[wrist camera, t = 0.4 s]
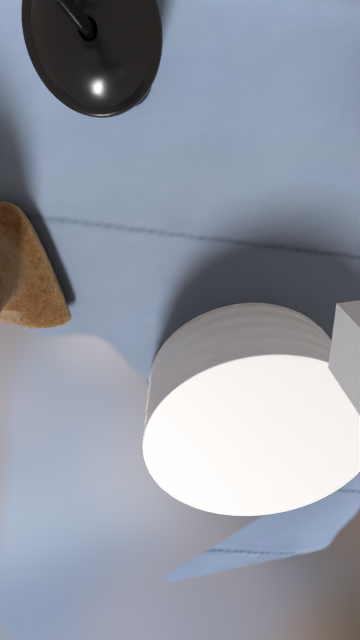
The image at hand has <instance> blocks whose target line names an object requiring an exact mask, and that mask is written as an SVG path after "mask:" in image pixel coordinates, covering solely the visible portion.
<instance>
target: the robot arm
mask: <svg viewBox="0 0 360 640" xmlns="http://www.w3.org/2000/svg"><path fill="white" fill-rule="evenodd" d="M328 368H329V370H330V371H331V373H332V374H333V376H334V377H335V379H336V380H337V382H338V384H339V385H340V387H341V388H342V390H343V391H344V393H345V394H346V396H347V397H348V399H349V400H350V402H351V403H352V405H353V406H354V408H355V409H356V411H357V412H358V414H359V415H360V300H359V301H350V302H342V303H336V311H335V319H334V326H333V334H332V342H331V349H330V357H329V365H328Z"/></svg>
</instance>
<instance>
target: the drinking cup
mask: <svg viewBox="0 0 360 640" xmlns="http://www.w3.org/2000/svg"><path fill="white" fill-rule="evenodd" d="M22 28H23V35H24V40H25V44H26V48H27V51H28V54H29V57H30V59H31V62H32V64H33V66H34V68H35V70H36V72H37V74H38V75H39V77H40V79H41V80H42V82H43V83H44V84H45V86H46V87H47V88H48V89H49V91H50V92H51V93H52V94H53V95H54V96H55V97H56V98H57V99H58V100H59V101H61V102H62V103H63V104H65V105H66V106H67V107H69V108H71V109H72V110H74V111H76V112H79V113H81V114H84V115H87V116H91V117H98V118H106V117H113V116H117V115H120V114H123V113H125V112H127V111H129V110H130V109H132V108H133V107H134V106H137V105H139V104H140V103H142V102H143V101H144V100H145V99H146V97H147V96H148V94H149V92H150V89H151V86H152V84H153V82H154V80H155V77H156V75H157V72H158V69H159V65H160V61H161V54H162V24H161V17H160V13H159V8H158V5H157V1H156V0H22Z"/></svg>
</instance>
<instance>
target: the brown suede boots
mask: <svg viewBox="0 0 360 640" xmlns="http://www.w3.org/2000/svg"><path fill="white" fill-rule="evenodd" d="M69 320H71V314H70V311H69V308H68V306H67V303H66V300H65V297H64V295H63V292H62V290H61V287H60V285H59V283H58V280H57V278H56V275H55V273H54V270H53V268H52V266H51V263H50V261H49V259H48V256H47V254H46V252H45V250H44V248H43V246H42V243H41V241H40V239H39V237H38V235H37V233H36V231H35V229H34V227H33V226H32V224H31V222H30V221H29V219H28V218H27V216H26V215H25V213H24V212H23V211H22V210H21V209H20V208H19V207H18V206H16V205H15V204H13V203H10V202H5V201H0V321H1V322H7V323H11V324H14V323H17V324H18V325H20V326H22V327H28V328H46V327H55V326H59V325H63V324H66V323H67V322H68V321H69Z"/></svg>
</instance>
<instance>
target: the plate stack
mask: <svg viewBox="0 0 360 640" xmlns="http://www.w3.org/2000/svg"><path fill="white" fill-rule="evenodd" d="M331 342H332V341H331V339H330V338H329V337H328V335H327V334H326V333H325V332H324V331H323V329H322V328H321V327H320V326H319V325H318V324H316V323H315V322H314V321H313V320H311V319H310V318H308V317H307V316H305V315H303V314H301V313H299V312H297V311H295V310H292V309H289V308H286V307H283V306H279V305H274V304H267V303H241V304H233V305H228V306H224V307H220V308H217V309H214V310H211V311H208V312H206V313H203V314H201V315H199V316H197V317H195V318H193V319H192V320H190V321H188V322H187V323H185V324H184V325H183V326H181V327H180V328H179V329H177V330H176V331H175V332H174V333H173V334H172V335H171V336H170V337H169V338H168V339H167V340H166V342H165V343H164V344H163V345H162V347H161V348H160V350H159V351H158V353H157V355H156V357H155V359H154V362H153V364H152V367H151V371H150V377H149V387H148V397H147V406H146V416H145V425H144V434H143V456H144V460H145V463H146V466H147V468H148V470H149V472H150V474H151V475H152V477H153V479H154V480H155V481H156V482H157V484H158V485H159V486H160V487H161V488H162V489H163V490H165V491H166V492H167V493H169V494H170V495H171V496H173V497H174V498H176V499H177V500H179V501H181V502H183V503H185V504H188V505H190V506H192V507H195V508H198V509H201V510H204V511H209V512H212V513H218V514H224V515H235V516H256V515H267V514H274V513H279V512H284V511H288V510H292V509H296V508H299V507H302V506H305V505H308V504H310V503H313V502H315V501H317V500H320V499H322V498H324V497H326V496H328V495H329V494H331V493H333V492H335V491H336V490H338V489H339V488H341V487H342V486H344V485H345V484H346V483H348V482H349V481H350V480H351V479H352V478H353V477H355V476H356V475H357V474H358V473H359V472H360V415H359V414H358V412H357V411H356V409H355V408H354V406H353V405H352V403H351V402H350V400H349V399H348V397H347V396H346V394H345V393H344V391H343V390H342V388H341V387H340V385H339V384H338V382H337V380H336V379H335V377H334V376H333V374H332V373H331V371H330V370H329V368H328V365H329V357H330V349H331Z"/></svg>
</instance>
